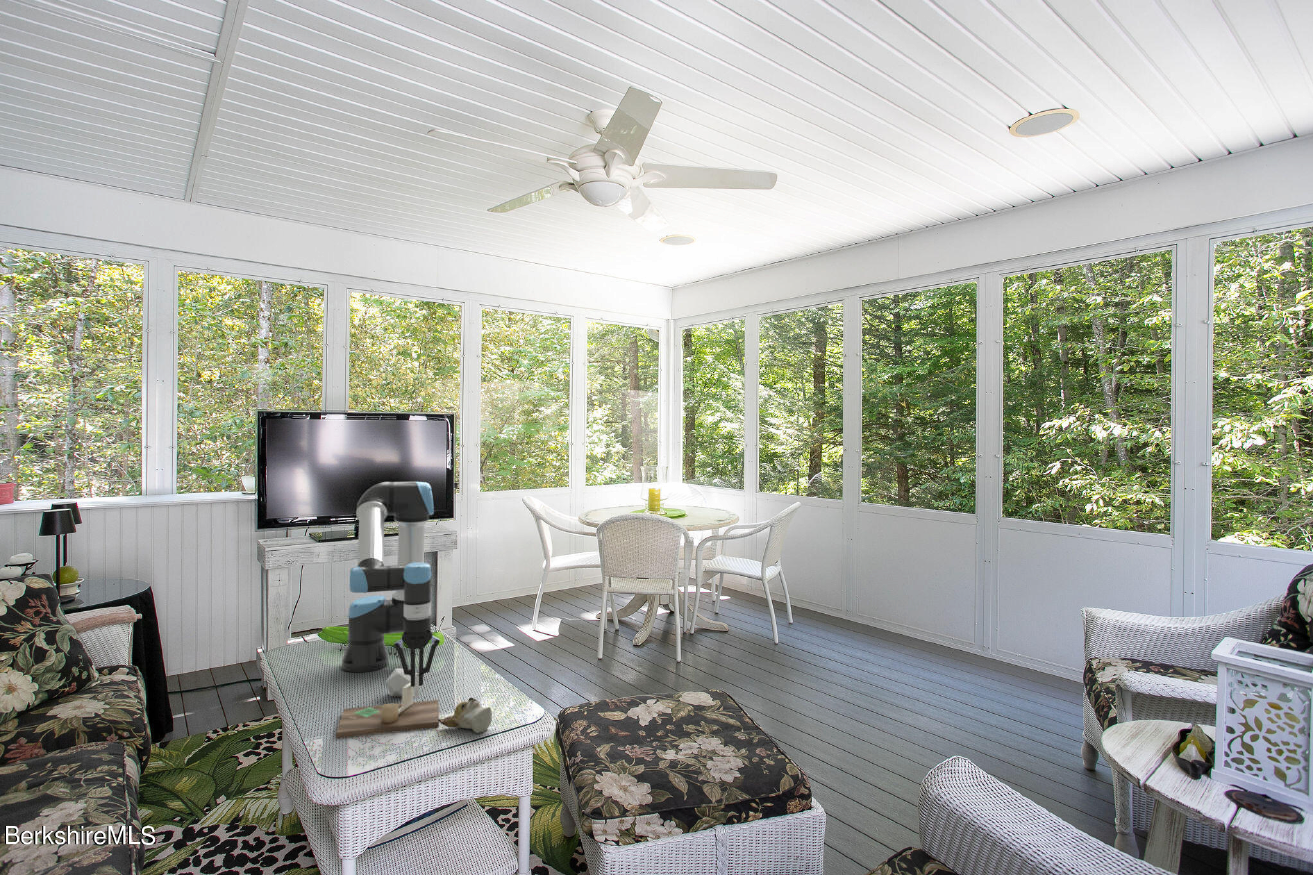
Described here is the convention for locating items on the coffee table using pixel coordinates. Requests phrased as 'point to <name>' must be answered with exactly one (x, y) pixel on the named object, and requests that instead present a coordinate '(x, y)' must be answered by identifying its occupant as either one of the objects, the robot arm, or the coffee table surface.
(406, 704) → the knob lever
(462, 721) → the ceramic sculpture
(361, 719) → the dial plate
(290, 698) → the coffee table surface
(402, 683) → the die
